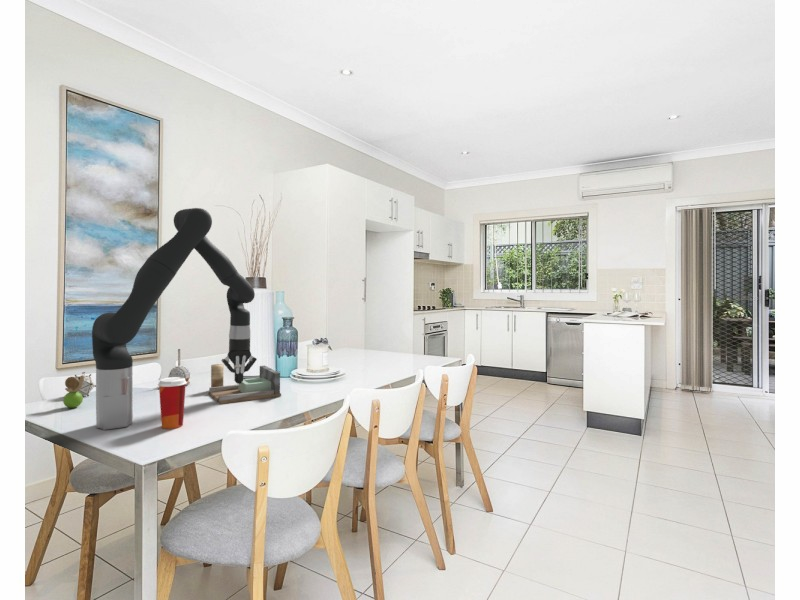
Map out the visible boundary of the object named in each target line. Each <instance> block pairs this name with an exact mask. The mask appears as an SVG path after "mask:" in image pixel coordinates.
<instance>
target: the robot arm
mask: <svg viewBox="0 0 800 600" xmlns="http://www.w3.org/2000/svg"><path fill="white" fill-rule="evenodd" d="M173 225H174V227H175V229H176V231H177V232H176V233H175V235H174V236H173V237H172V238H170V239H169V240H168V241H166V243H164V244H162V246H160V247H158V249H156V250H154V252H153V253H152V254H150V255H149V256H148V258H147V259H146V260H145V262H144V263H143V264H142V265H141V267H140V268H139V270H138V271H137V273H136V275H135V278H134V280H133V281H134V282H133V286H132V289H131V292H130V294H129V296H128V298H127V299H126V301H125V302H123V304H122V305H121V306H120V307H119V309H118V310H117V311H116V312H105V313H102V314H100V315H98V316H97V317H96V319H95V320H94V322H93V324H92V330H91V343H92V355H93V359H94V361H95V385H96V387H95V413H96V414H95V416H96V417H95V421H96V422H95V427H96V428H97V429H101V430H102V431H107V430H112V429H113V430H114V429H121V428H127V427H128V428H129V426H130V425H131V424H133V418H134V413H133V412H134V411H133V407H134V406H133V405H134V404H133V403H134V402H133V401H134V400H133V397H134V396H133V392H134V391H133V390H134V389H133V374H134V373H133V357H132V355H131V354H130V353H129V351H128V347H127V344H129V343H130V342H131V341H133V339H134V338H135V337H136V336H137V334H138V332H139V331H140V329H141V328H142V325H143V324H144V321H145V320H146V317H147V316H148V315H149V313H150V311H151V309H152V308H153V307H154V305H155V304H156V302H157V301H158V300H159V299H160V297H161V296H162V294H163V293H164V291H165V290H166V289H167V287H168V286H169V284H170V283H171V282H172V280H173V279H174V278H175V276H176V275H177V273H178V271H179V270H180V268H181V267H182V265H184V263H185V262H186V260H187V259H188V257H189V256H190V254H191V252H193V250H194V249H195V251H196V252H197V254H199V255H200V256H201V257H202V259H203V260H204V261H205V262H206V263H207V265H208V266H209V267H210V269H211V270H212V272H213V273H214V274H215V276H216V277H217V278H218V280H219V281H220V282H221V284H222V285H223V286H226V287H228V289H227V291H226V300H227V301H226V302H227V307H228V310H229V315H230V319H229V321H230V322H229V324H230V325H229V332H228V341H229V342H228V353H227V355H226V357H224V358H222V359H221V362H222V364H223V365H224V366H225V367H226V369H227V370H228V371H229V372H230V373H233V374H234V383H235V384H236V385H238V384H239V383H242V382H243V379H244V374H245V373H246V372H249V371H250V369H251V368H252V367H253V365H254V364H255V363H256V361H257V359H258V358H256V357H254V355H252V352H251V312H250V311H249V310H248V309H246V308H245V305H244V304H249V303H251V302H253V300H254V299H255V289H254V288H253V286H252V285H251V283H250V282H249V281H248V280H247V279H246V278H245V277H244V276H243V275H242V274H241V273H239V272H238V270H237V269H236V267H235V265H234V264H233V262H232V261H231V260H230V258H229V257H228V256H227V255H226V254H225V253H224V252H223V251H222V250H221V249H219V248H218V247H217V246H216V245H215V244H213V243H212V242H211V240H210V239H209V238H208V237H207V234H208V233H209V232H210V230H211V228H212V225H213V219H212V216H211V213H210V212H209V211H208V210H207V209H204V208H200V207H199V208H198V207H192V208H185V209H180V210H179V211H177V212H176V213H175V214H174V215H173ZM230 362H231V363H232V364H233V367H232V366H231V364H230Z"/></svg>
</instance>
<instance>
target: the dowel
mask: <svg viewBox="0 0 800 600" xmlns="http://www.w3.org/2000/svg"><path fill="white" fill-rule="evenodd" d="M224 366H225V365H224V363H221V364H220V363H218V364H217V363H216V364H211V366H210V368H211V369H210V387H219V386H224Z"/></svg>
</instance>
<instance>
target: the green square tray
mask: <svg viewBox="0 0 800 600" xmlns="http://www.w3.org/2000/svg"><path fill="white" fill-rule="evenodd" d="M264 390H271V382H270V381H269V380H267V379H265V378H263V377H262V378H260V377H254V378H245V379H244V378H243V382H242V383H239V391H240V392H242V393H248V392H256V391H264Z"/></svg>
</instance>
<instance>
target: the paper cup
mask: <svg viewBox="0 0 800 600" xmlns="http://www.w3.org/2000/svg"><path fill="white" fill-rule="evenodd" d="M186 383H187V382H186V381H185V378H181V377H170V378H168V377H165V378H161V379H159V381H158V383H157V386H158V388H159V389H158V390H159V391H158V392H159V393H158V394H159V405H160V406H159V407H160V408H159V409H160V418H161V419H160V421H161V429H164V430H173V429H178V428H180V427H183V425H184V413H185V398H186V386H187V385H186Z"/></svg>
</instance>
